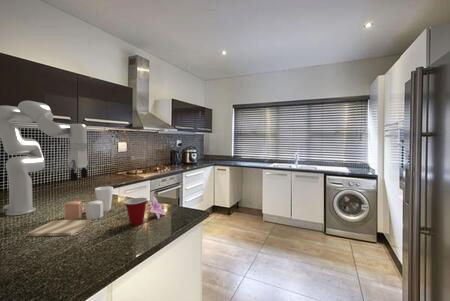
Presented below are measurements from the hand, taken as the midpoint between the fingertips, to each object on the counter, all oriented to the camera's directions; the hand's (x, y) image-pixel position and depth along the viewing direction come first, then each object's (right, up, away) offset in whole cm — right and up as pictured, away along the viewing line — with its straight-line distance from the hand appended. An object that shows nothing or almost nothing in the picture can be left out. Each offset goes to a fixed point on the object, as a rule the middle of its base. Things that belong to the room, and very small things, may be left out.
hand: (79, 178), depth 117 cm
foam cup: (+7, -20, +12) cm, 25 cm away
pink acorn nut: (-2, -20, -1) cm, 21 cm away
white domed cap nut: (+9, -21, 0) cm, 22 cm away
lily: (+41, -21, +2) cm, 46 cm away
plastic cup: (+34, -21, -9) cm, 41 cm away
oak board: (+3, -21, -16) cm, 26 cm away
